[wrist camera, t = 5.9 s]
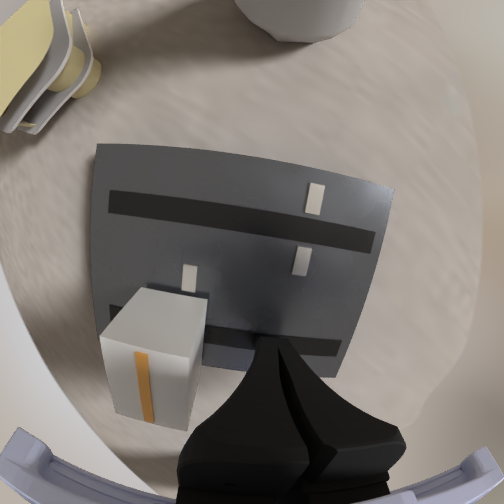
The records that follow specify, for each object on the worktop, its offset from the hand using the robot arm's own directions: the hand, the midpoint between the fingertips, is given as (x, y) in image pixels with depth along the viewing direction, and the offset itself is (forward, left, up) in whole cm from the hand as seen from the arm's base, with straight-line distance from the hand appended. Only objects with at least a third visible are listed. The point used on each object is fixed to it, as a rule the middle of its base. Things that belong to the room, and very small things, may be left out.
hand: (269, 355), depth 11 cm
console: (+3, +2, -3) cm, 5 cm away
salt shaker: (+17, +1, -3) cm, 17 cm away
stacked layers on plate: (+13, +14, -4) cm, 19 cm away
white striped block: (0, +5, -1) cm, 5 cm away
